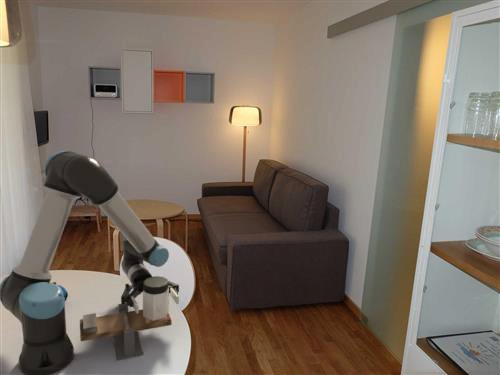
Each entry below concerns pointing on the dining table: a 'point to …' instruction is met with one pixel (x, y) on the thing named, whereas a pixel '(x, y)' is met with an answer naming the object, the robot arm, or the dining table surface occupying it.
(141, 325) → the beam
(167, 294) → the jar
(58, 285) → the ornament
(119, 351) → the pivot stand
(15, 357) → the dining table surface
